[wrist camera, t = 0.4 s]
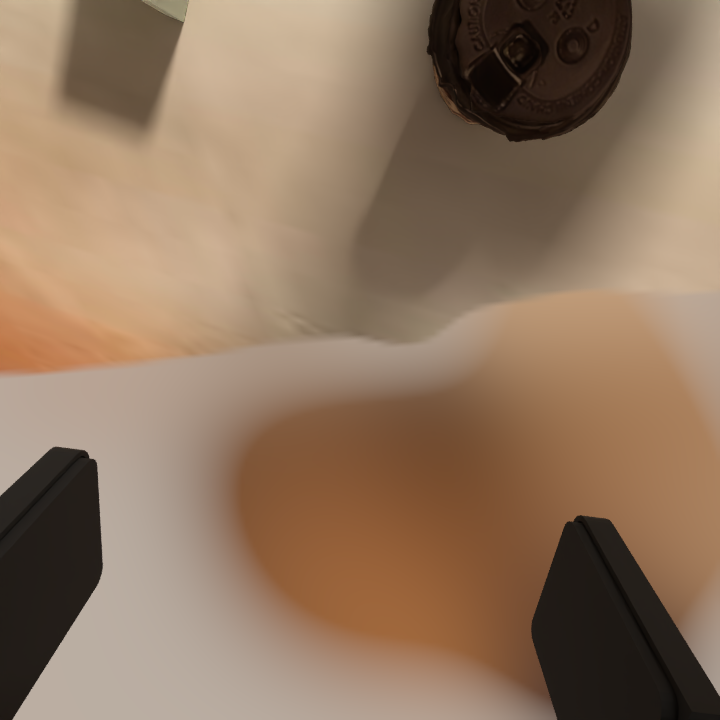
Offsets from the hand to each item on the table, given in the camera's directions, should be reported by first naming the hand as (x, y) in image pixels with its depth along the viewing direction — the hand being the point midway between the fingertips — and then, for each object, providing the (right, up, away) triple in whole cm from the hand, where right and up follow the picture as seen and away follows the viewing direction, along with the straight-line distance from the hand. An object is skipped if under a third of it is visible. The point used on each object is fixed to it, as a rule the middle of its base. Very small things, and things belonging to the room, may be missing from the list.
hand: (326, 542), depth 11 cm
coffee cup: (+8, +22, +23) cm, 32 cm away
